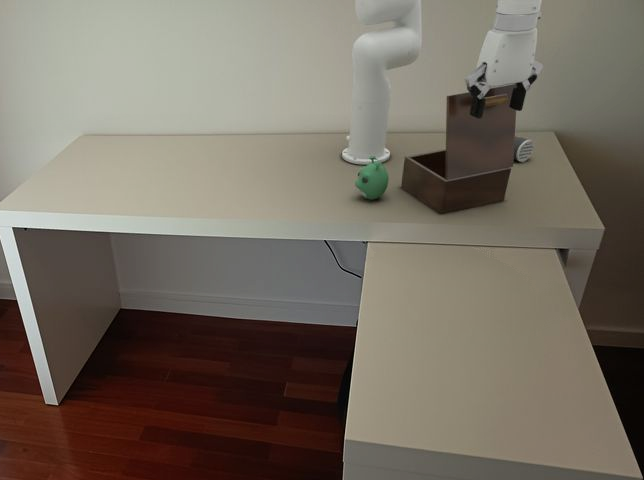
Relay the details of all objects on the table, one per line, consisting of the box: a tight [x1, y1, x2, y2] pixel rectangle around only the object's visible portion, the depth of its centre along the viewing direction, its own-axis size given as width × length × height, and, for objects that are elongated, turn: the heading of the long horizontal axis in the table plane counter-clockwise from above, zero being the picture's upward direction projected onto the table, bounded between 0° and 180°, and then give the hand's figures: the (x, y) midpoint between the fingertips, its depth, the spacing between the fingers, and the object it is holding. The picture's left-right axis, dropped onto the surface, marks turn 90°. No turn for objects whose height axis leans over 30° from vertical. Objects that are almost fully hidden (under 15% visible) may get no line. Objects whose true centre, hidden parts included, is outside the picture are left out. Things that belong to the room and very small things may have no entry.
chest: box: [400, 148, 512, 215], centre depth 152 cm, size 17×17×8 cm
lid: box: [445, 83, 517, 180], centre depth 138 cm, size 17×17×5 cm
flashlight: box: [513, 136, 535, 163], centre depth 170 cm, size 15×5×5 cm, turn 25°
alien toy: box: [354, 156, 390, 200], centre depth 153 cm, size 7×8×10 cm
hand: (495, 112), depth 134 cm, fingers open, 9 cm apart
